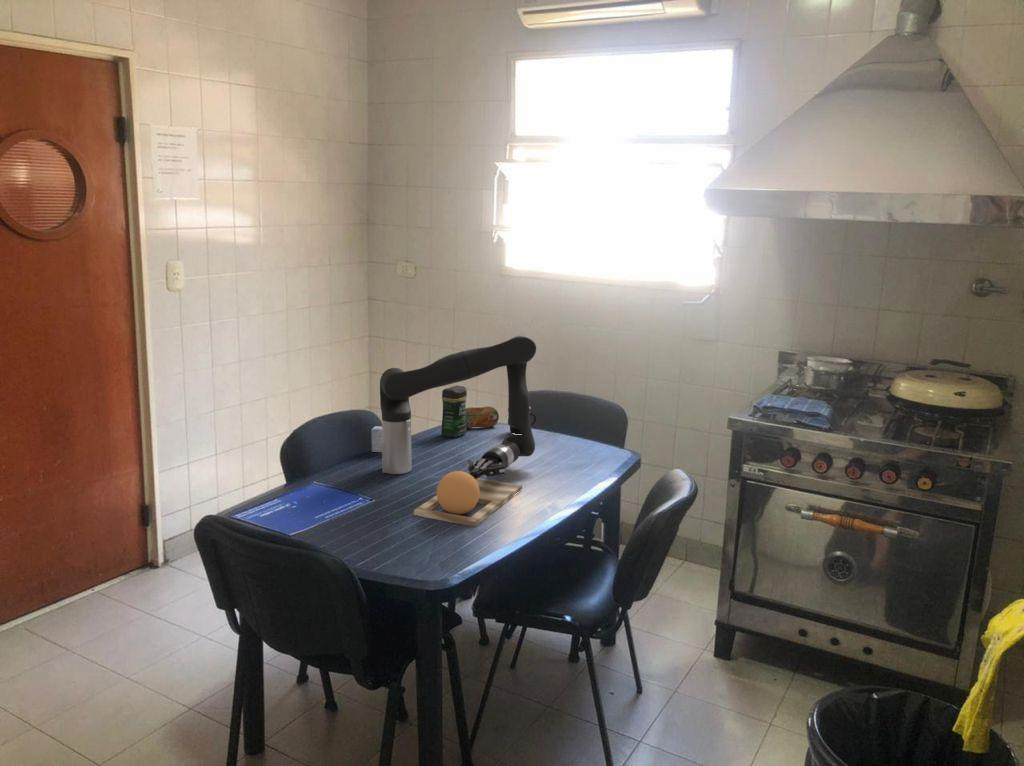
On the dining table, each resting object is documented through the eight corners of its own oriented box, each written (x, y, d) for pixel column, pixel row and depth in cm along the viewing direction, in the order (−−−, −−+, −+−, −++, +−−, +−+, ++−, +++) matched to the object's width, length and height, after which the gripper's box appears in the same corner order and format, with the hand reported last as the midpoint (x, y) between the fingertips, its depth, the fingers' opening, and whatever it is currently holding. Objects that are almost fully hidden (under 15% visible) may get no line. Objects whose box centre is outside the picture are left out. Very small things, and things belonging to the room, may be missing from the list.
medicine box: (397, 450, 282) (396, 426, 280) (394, 454, 277) (393, 430, 276) (375, 449, 283) (374, 425, 281) (371, 453, 278) (371, 429, 276)
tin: (460, 429, 309) (461, 408, 308) (459, 427, 312) (459, 406, 311) (498, 427, 313) (499, 406, 312) (496, 425, 316) (497, 404, 315)
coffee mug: (503, 431, 308) (504, 405, 306) (524, 428, 312) (524, 403, 310) (516, 439, 298) (517, 413, 296) (537, 436, 301) (538, 411, 299)
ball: (463, 465, 232) (461, 505, 234) (429, 469, 225) (427, 511, 226) (489, 473, 223) (487, 515, 225) (454, 478, 216) (452, 522, 217)
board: (466, 480, 252) (466, 476, 252) (521, 489, 245) (522, 485, 245) (413, 515, 224) (413, 509, 223) (475, 526, 216) (475, 521, 216)
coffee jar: (456, 439, 296) (456, 390, 292) (438, 436, 300) (438, 387, 296) (470, 433, 304) (470, 385, 300) (452, 430, 308) (452, 383, 304)
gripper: (478, 445, 251) (452, 460, 236) (517, 450, 246) (493, 466, 231) (478, 467, 253) (452, 484, 238) (517, 474, 248) (493, 491, 232)
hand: (472, 475), depth 234 cm, fingers closed
